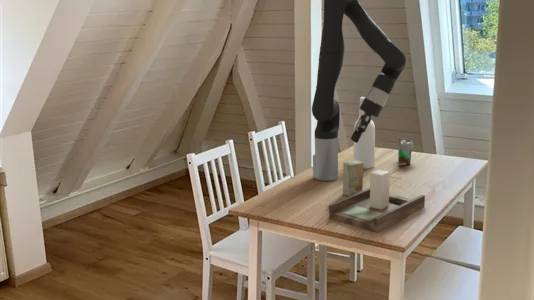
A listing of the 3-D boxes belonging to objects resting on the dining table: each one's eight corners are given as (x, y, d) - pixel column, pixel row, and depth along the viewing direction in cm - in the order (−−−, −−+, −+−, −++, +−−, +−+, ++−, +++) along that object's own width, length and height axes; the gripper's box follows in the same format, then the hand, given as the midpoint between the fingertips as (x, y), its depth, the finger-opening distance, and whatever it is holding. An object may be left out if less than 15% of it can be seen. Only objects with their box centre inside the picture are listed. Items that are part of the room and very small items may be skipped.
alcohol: (350, 167, 242) (350, 98, 234) (358, 162, 249) (358, 95, 241) (369, 170, 237) (370, 99, 229) (377, 164, 244) (378, 96, 237)
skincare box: (349, 197, 206) (349, 165, 203) (342, 193, 210) (342, 162, 207) (363, 193, 209) (363, 162, 206) (356, 190, 213) (356, 159, 210)
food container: (413, 168, 238) (414, 145, 235) (398, 167, 239) (399, 144, 237) (412, 160, 250) (413, 138, 247) (398, 159, 251) (398, 137, 248)
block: (369, 206, 191) (370, 172, 187) (377, 203, 194) (378, 169, 191) (381, 209, 187) (381, 175, 184) (388, 206, 190) (389, 172, 187)
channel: (329, 217, 188) (329, 205, 186) (377, 195, 206) (378, 184, 205) (377, 232, 174) (377, 219, 173) (424, 207, 193) (424, 195, 192)
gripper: (363, 97, 213) (343, 135, 215) (366, 96, 199) (345, 137, 201) (381, 106, 213) (361, 144, 214) (386, 106, 199) (364, 147, 200)
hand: (353, 141), depth 208 cm, fingers open, 8 cm apart
